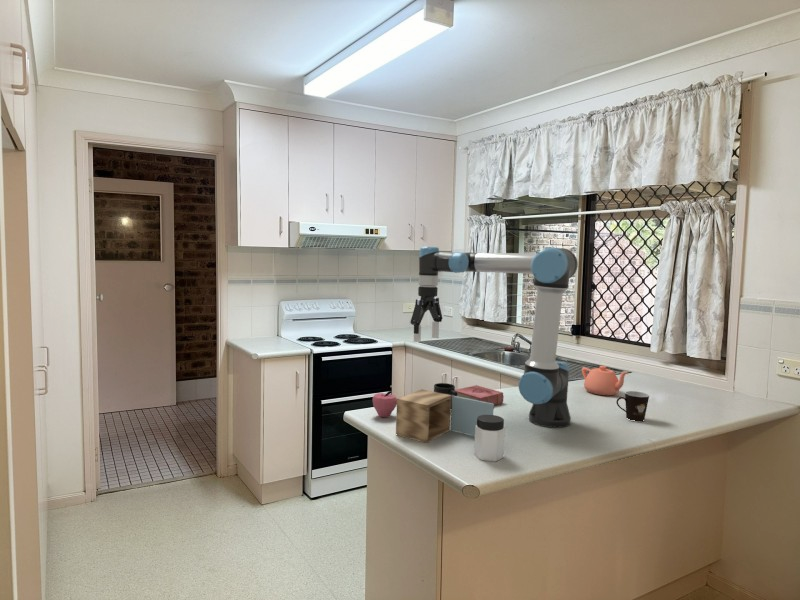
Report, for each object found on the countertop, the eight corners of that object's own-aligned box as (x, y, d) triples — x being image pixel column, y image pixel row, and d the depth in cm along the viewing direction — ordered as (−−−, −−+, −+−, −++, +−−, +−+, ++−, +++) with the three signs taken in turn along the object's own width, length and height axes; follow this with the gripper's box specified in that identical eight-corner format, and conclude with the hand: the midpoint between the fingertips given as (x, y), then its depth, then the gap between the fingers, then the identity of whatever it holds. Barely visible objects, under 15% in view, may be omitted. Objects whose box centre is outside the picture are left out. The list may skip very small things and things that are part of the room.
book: (481, 410, 222) (481, 398, 222) (453, 401, 233) (453, 390, 233) (504, 404, 232) (504, 392, 231) (476, 396, 243) (476, 385, 242)
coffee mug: (646, 417, 218) (648, 392, 217) (648, 424, 210) (650, 398, 209) (614, 413, 222) (616, 389, 221) (615, 420, 214) (617, 394, 213)
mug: (445, 416, 212) (446, 391, 211) (429, 407, 223) (430, 384, 222) (463, 413, 216) (464, 389, 215) (446, 405, 227) (447, 382, 226)
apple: (385, 411, 215) (386, 386, 214) (401, 417, 209) (402, 390, 208) (367, 416, 209) (367, 390, 208) (382, 422, 202) (383, 395, 201)
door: (451, 429, 195) (452, 394, 194) (492, 439, 187) (493, 403, 186) (449, 430, 195) (451, 395, 193) (490, 440, 186) (492, 403, 185)
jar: (484, 449, 178) (486, 412, 177) (507, 455, 173) (509, 418, 172) (469, 456, 172) (471, 418, 170) (492, 463, 166) (494, 424, 165)
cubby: (449, 430, 196) (451, 395, 195) (426, 442, 183) (427, 405, 181) (420, 423, 202) (422, 389, 201) (395, 434, 189) (397, 398, 188)
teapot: (634, 395, 252) (636, 368, 251) (618, 401, 242) (620, 373, 241) (588, 385, 268) (590, 360, 267) (572, 390, 258) (574, 364, 257)
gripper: (436, 284, 231) (434, 335, 233) (402, 286, 211) (400, 342, 213) (451, 285, 227) (450, 337, 229) (419, 288, 207) (417, 344, 209)
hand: (426, 339), depth 221 cm, fingers open, 13 cm apart
